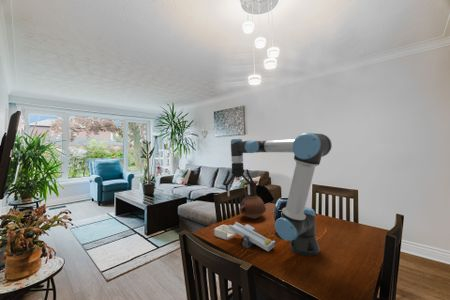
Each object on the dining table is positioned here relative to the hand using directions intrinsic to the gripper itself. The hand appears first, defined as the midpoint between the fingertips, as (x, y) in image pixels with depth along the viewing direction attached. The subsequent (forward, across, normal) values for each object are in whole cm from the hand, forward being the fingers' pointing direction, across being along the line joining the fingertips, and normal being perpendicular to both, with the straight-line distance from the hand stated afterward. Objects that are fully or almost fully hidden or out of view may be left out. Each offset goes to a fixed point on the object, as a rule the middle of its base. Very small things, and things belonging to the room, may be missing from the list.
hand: (238, 195), depth 131 cm
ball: (+23, -11, +20) cm, 32 cm away
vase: (+26, -17, -29) cm, 43 cm away
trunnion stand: (+27, -3, +11) cm, 29 cm away
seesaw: (+23, -5, +9) cm, 25 cm away
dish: (+26, +10, -4) cm, 28 cm away
